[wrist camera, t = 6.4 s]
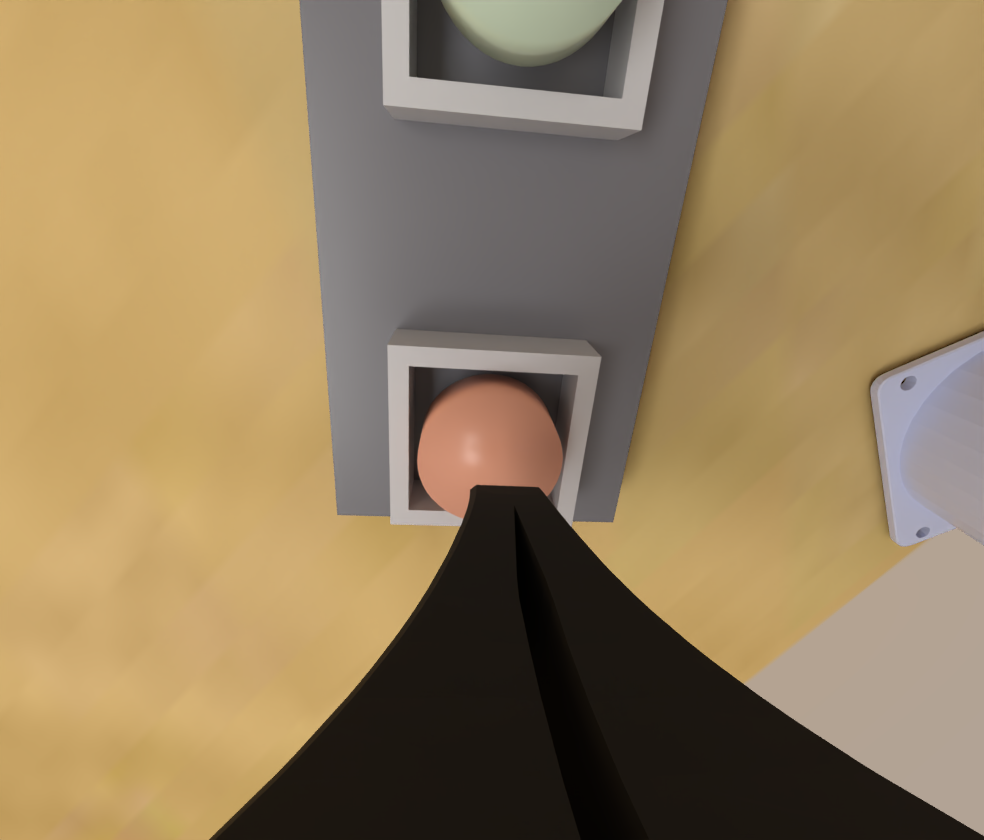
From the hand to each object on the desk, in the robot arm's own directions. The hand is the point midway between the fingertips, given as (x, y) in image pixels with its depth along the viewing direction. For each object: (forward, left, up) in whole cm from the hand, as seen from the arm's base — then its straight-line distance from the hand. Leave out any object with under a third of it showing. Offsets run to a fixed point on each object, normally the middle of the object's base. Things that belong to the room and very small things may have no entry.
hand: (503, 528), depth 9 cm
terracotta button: (0, 0, -4) cm, 4 cm away
